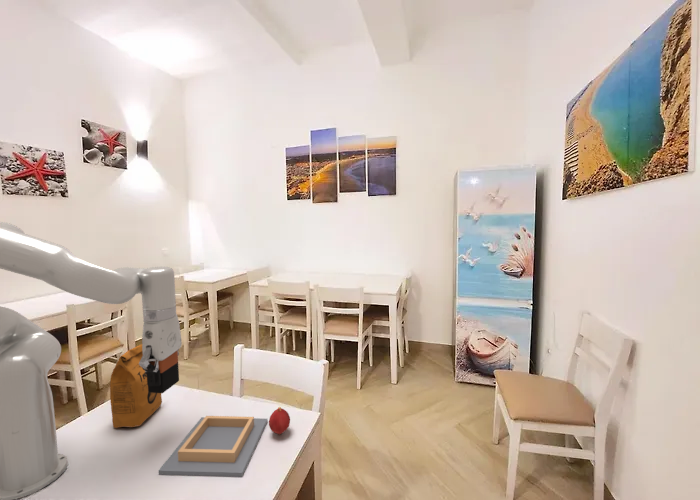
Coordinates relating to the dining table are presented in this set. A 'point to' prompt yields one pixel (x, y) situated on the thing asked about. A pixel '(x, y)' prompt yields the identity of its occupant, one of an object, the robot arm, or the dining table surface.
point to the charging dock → (216, 447)
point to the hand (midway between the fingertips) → (163, 377)
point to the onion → (279, 421)
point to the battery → (166, 373)
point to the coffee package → (131, 391)
